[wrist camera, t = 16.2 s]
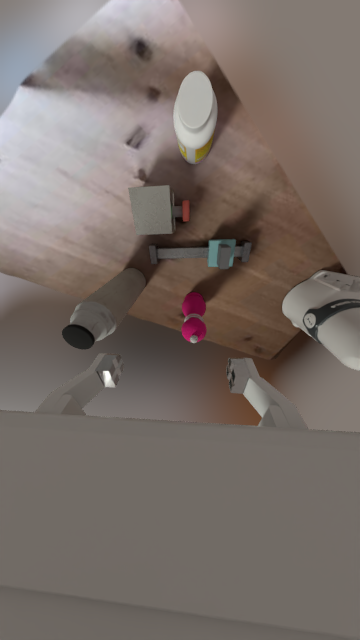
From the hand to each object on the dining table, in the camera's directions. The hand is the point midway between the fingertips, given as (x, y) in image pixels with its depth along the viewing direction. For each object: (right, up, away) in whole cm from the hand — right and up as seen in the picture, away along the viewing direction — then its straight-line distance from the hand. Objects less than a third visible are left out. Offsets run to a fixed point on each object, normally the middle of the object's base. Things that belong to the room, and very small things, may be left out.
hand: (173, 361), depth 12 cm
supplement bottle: (+4, +39, +19) cm, 44 cm away
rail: (+5, +22, +30) cm, 38 cm away
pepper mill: (+5, +10, +39) cm, 40 cm away
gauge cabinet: (-5, +30, +26) cm, 40 cm away
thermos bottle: (-14, +16, +36) cm, 42 cm away
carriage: (+11, +22, +30) cm, 39 cm away
